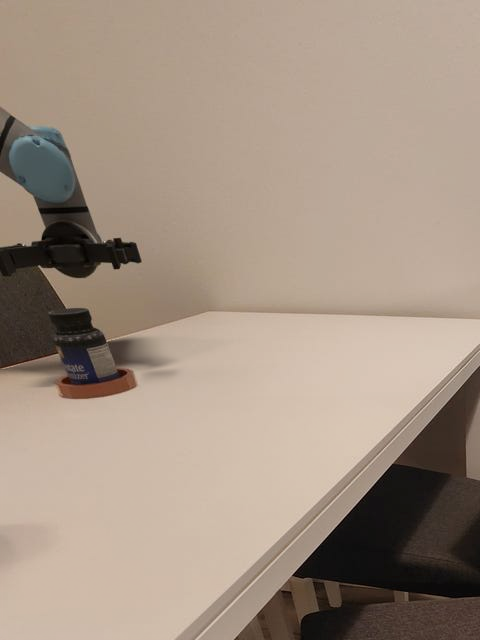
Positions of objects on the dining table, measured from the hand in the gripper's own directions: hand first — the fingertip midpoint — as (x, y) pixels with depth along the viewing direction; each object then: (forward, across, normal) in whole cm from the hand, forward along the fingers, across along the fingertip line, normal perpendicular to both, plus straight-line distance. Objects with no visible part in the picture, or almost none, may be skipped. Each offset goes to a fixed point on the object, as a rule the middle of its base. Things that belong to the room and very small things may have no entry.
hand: (58, 261), depth 81 cm
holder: (+10, 0, -16) cm, 19 cm away
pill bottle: (+10, 0, -16) cm, 19 cm away
